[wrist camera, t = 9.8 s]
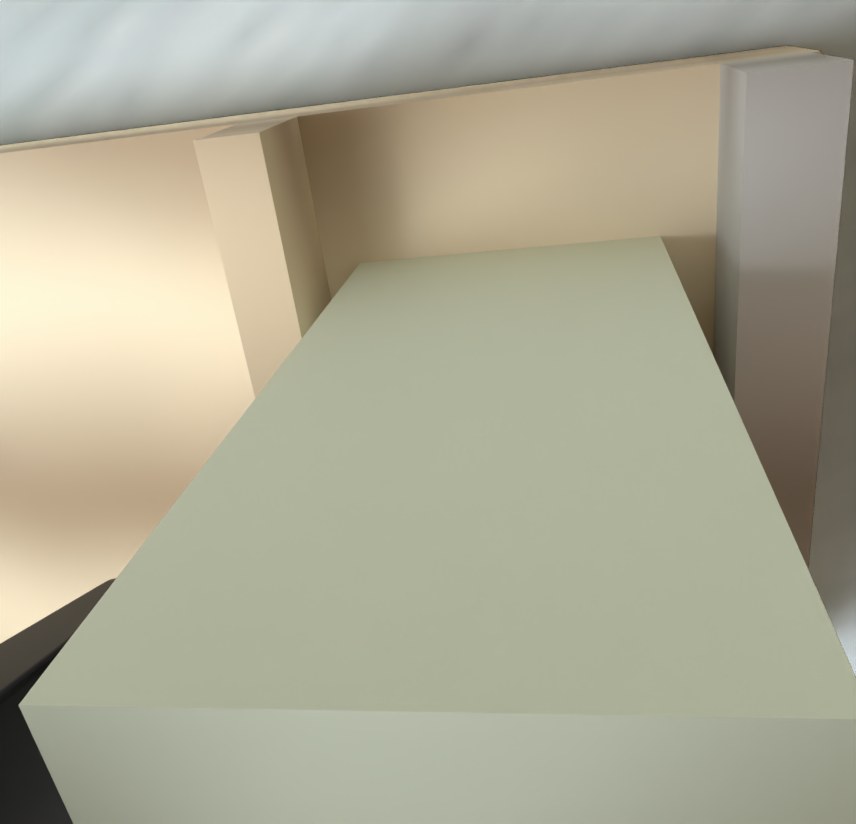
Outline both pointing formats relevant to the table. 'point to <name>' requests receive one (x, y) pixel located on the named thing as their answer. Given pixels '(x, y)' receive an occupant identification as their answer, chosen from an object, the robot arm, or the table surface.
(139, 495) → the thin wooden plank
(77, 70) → the table surface
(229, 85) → the table surface
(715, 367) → the carton
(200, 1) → the table surface
